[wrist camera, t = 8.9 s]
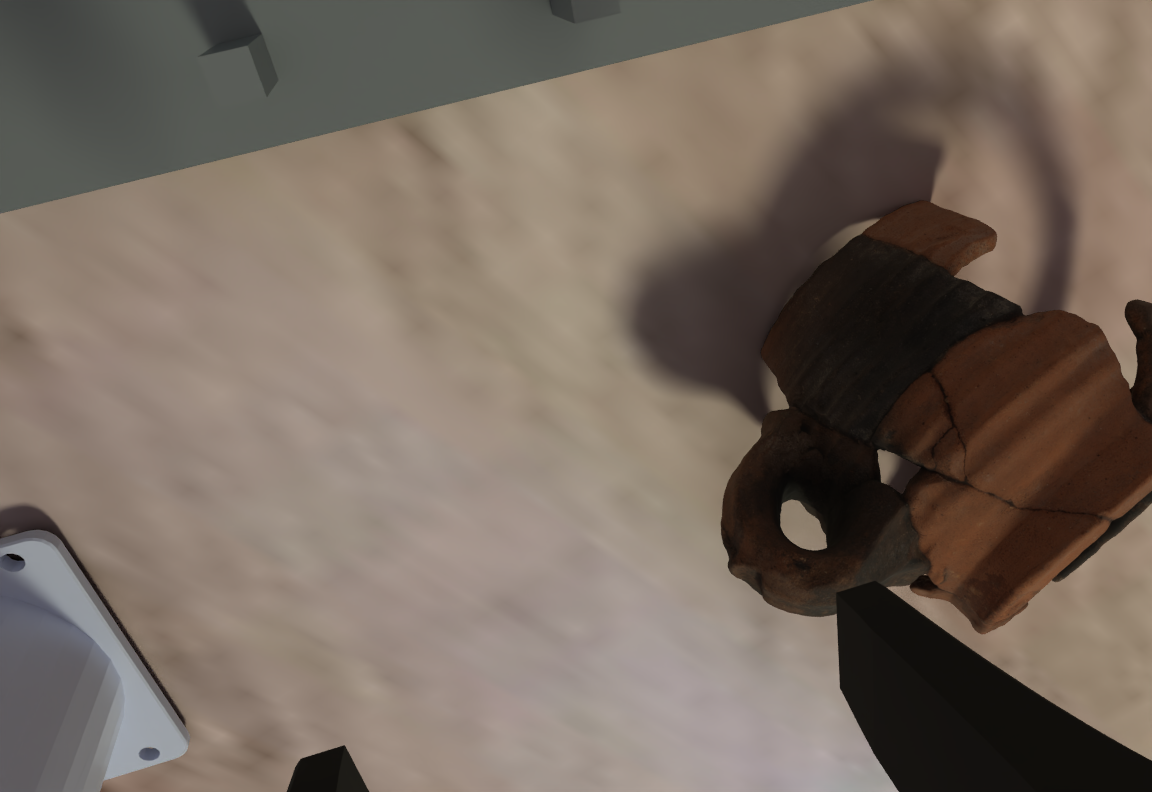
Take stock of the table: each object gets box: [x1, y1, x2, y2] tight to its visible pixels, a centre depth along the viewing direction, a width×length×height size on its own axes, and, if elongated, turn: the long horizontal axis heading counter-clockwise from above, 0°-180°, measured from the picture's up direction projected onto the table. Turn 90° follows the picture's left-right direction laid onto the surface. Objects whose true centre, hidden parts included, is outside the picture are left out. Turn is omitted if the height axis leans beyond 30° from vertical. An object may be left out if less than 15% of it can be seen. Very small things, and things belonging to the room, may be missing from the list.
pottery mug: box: [721, 201, 1152, 634], centre depth 21 cm, size 12×10×8 cm
